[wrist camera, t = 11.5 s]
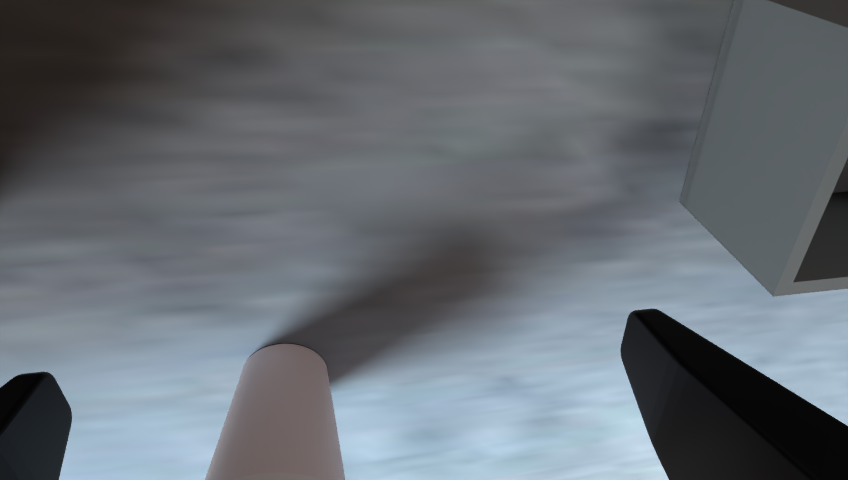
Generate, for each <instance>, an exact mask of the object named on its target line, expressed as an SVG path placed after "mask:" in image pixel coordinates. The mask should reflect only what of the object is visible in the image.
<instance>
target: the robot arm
mask: <svg viewBox="0 0 848 480" xmlns="http://www.w3.org/2000/svg"><path fill="white" fill-rule="evenodd" d="M621 358H622V362H623V365H624V367H625V370H626V373H627V376H628V379H629V381H630V384H631V387H632V390H633V393H634V395H635V398H636V401H637V404H638V407H639V409H640V412H641V415H642V418H643V421H644V423H645V426H646V429H647V432H648V434H649V437H650V439H651V442H652V445H653V447H654V449H655V451H656V453H657V456H658V458H659V460H660V462H661V464H662V466H663V468H664V470H665V472H666V474H667V476H668V478H669V480H848V426H847V425H845V424H844V423H842V422H840V421H839V420H837V419H835V418H834V417H832V416H830V415H829V414H827V413H826V412H824V411H822V410H821V409H819V408H817V407H816V406H814V405H813V404H811V403H809V402H808V401H806V400H804V399H803V398H801V397H800V396H798V395H796V394H795V393H793V392H791V391H790V390H788V389H787V388H785V387H783V386H782V385H780V384H778V383H777V382H775V381H774V380H772V379H770V378H769V377H767V376H765V375H764V374H762V373H760V372H759V371H757V370H756V369H754V368H752V367H751V366H749V365H747V364H746V363H744V362H743V361H741V360H739V359H738V358H736V357H734V356H733V355H731V354H730V353H728V352H726V351H725V350H723V349H721V348H720V347H718V346H717V345H715V344H713V343H712V342H710V341H708V340H707V339H705V338H703V337H702V336H700V335H699V334H697V333H695V332H694V331H692V330H690V329H689V328H687V327H686V326H684V325H682V324H681V323H679V322H677V321H676V320H674V319H673V318H671V317H669V316H668V315H666V314H664V313H663V312H661V311H659V310H657V309H644V310H635V311H633V312H631V313H630V314H629V316H628V319H627V324H626V328H625V332H624V336H623V340H622V344H621ZM71 422H72V412H71V408H70V406H69V404H68V402H67V400H66V398H65V396H64V395H63V393H62V391H61V389H60V387H59V385H58V383H57V382H56V380H55V378H54V377H53V375H51V374H50V373H48V372H36V373H27V374H21V375H18V376H15V377H14V378H13V379H11V380H10V381H9V382H7V383H6V384H5V385H3V386H2V387H1V388H0V480H59V476H60V472H61V467H62V463H63V458H64V454H65V450H66V445H67V441H68V436H69V432H70V428H71Z"/></svg>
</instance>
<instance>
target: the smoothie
mask: <svg viewBox="0 0 848 480" xmlns="http://www.w3.org/2000/svg"><path fill="white" fill-rule="evenodd" d="M205 480H345V475H344V469H343V463H342V457H341V451H340V445H339V438H338V432H337V426H336V420H335V414H334V408H333V401H332V395H331V389H330V383H329V377H328V371H327V366H326V364H325V362H324V360H323V359H322V358H321V357H320V356H319V355H318V354H317V353H316V352H314V351H313V350H311V349H309V348H306V347H303V346H300V345H295V344H276V345H271V346H268V347H265V348H262V349H260V350H258V351H257V352H255V353H254V354H253V355H251V356H250V357H249V358H248V360H247V361H246V363H245V365H244V367H243V370H242V373H241V376H240V379H239V382H238V385H237V388H236V391H235V394H234V396H233V399H232V402H231V405H230V408H229V411H228V414H227V417H226V420H225V423H224V426H223V429H222V432H221V435H220V438H219V440H218V443H217V446H216V449H215V452H214V455H213V458H212V461H211V464H210V467H209V470H208V473H207V476H206V479H205Z"/></svg>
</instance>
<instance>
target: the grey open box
mask: <svg viewBox="0 0 848 480" xmlns="http://www.w3.org/2000/svg"><path fill="white" fill-rule="evenodd" d="M847 158H848V0H734V1H733V5H732V9H731V13H730V16H729V20H728V24H727V27H726V31H725V35H724V38H723V42H722V46H721V50H720V53H719V57H718V61H717V64H716V68H715V72H714V75H713V79H712V83H711V87H710V90H709V94H708V98H707V101H706V105H705V109H704V112H703V116H702V120H701V124H700V127H699V131H698V135H697V138H696V142H695V146H694V149H693V153H692V157H691V161H690V164H689V168H688V172H687V175H686V179H685V183H684V186H683V190H682V194H681V198H680V201H679V202H680V203H681V204H682V205H683V206H684V207H685V208H686V209H687V210H688V211H689V212H690V213H691V214H692V215H693V216H694V217H695V218H696V219H697V220H698V221H699V222H700V223H701V224H702V225H703V226H704V227H705V228H706V229H707V230H708V231H709V232H710V233H711V234H712V235H713V236H714V237H715V238H716V239H717V240H718V241H719V242H720V243H721V244H722V245H723V246H724V247H725V248H726V249H727V250H728V251H729V252H730V253H731V254H732V255H733V256H734V257H735V258H736V259H737V260H738V261H739V262H740V263H741V264H742V266H743V267H744V268H745V269H746V270H747V271H748V272H749V273H750V274H751V275H752V276H753V277H754V278H755V279H756V280H757V281H758V282H759V283H760V284H761V285H762V286H763V287H764V288H765V289H766V290H767V291H768V292H769V293H770V294H771V295H772V296H781V295H791V294H800V293H810V292H819V291H828V290H838V289H847V288H848V191H847V192H836V193H832V192H833V190H834V188H835V186H836V183H837V181H838V179H839V176H840V174H841V172H842V170H843V167H844V165H845V163H846V160H847Z"/></svg>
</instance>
